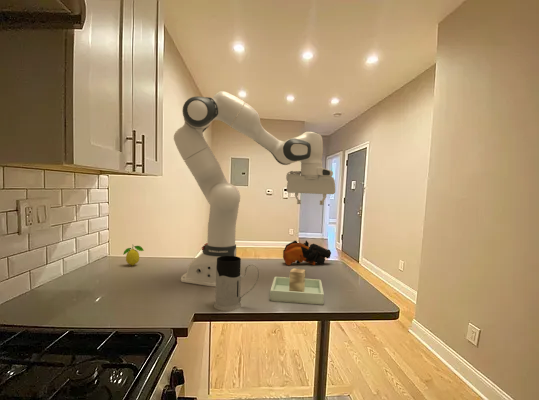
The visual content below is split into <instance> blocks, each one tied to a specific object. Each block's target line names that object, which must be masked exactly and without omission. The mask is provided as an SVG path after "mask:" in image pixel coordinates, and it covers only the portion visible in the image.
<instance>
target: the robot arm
mask: <svg viewBox="0 0 539 400" xmlns="http://www.w3.org/2000/svg"><path fill="white" fill-rule="evenodd" d="M182 116H183V120H184V124H183V125H182V126H181V127H179V128H178V129H177V130H176V131H175V133H174V135H173V141H174V143H175V146H176V149H177V150H178V153H179V155H180V157H181V158H182V160H183V162H184V163H185V165H186V166H187V168H188V170H189V171H190V173H191V175H192V176H193V178H194V179H195V181H196V184H197V185H198V187H199V188H200V190H201V192H202V194H203V196H204V197H205V199H206V201H207V203H208V204H209V217H208V221H207V242H206V243H205V244H204V245H202V247H201V251H202V253H201V254H200V255H199V256H197V257H196V258H195V259H193V260H192V261H191V262H190V263H189V264H188V267H187V270H186V271H187V272H185V273H184V274H183V275H181V276H180V281H181V283H187V284H193V285H201V286H208V287H216V265H217V258H218V257H221V256H236V257H237V244H236V232H237V231H236V230H237V229H236V228H237V221H238V213H239V207H240V205H239V204H240V202H241V195H240V191H239V190H238V188H237V187H236V186H235V185H234V184H232V183H230V182H228V180H227V179H226V177H225V175H224V172H223V170H222V167H221V164H220V162H219V161H218V159H217V158H216V156H215V155H214V153H213V151H212V149H211V148H210V146H209V144H208V142H207V141H206V139H205V136H204V134H203V133H204V132H205V131H206V129H208V128H209V127H210V125H211V124H212V123H213V122H214V121H220V122H223V123H224V124H226V125H227V126H229V127H230V128H232V129H233V130H235V131H236V132H238V133H241V135H244V136H246V137H247V138H250V140H251V139H252V140H253V141H254V142H256V143H257V144H258V145H260V146H261V147H263V148H264V149H265V150H266V151H268V152H269V153H271V155H272V156H273V158H274V159H275V160H276V162H277V163H278V164H280V165H282V166H283V165H284V166H288V165H291V164H293V163H297V162H300V170H295V171H293V170H290V171H289V172H287V173H286V178H285V179H286V181H287V184H286V192H287V193H288V194H289V193H290V194H294V198H295V199H296V204H297V205H301V201H302V200H301V199H299V197H298V196H299V194H309V195H310V194H313V195H314V194H315V195H322V197H323V198H322V199H321V200H319V205H320V206H324V202H325V200H326V198H327V195H334V194H335V193H336V180H335V179H334V177H333V175H334V172H333V171H332V170H330V169H328V168H324V167H323V159H322V158H323V154H324V153H323V152H324V143H323V137H322V135H321V134H320V133H318V132H315V131H310V130H309V131H308V130H307V131H305V132H304V133H302V134H300V135H298V136H295V137H292V138H289V139H286V140H284V141H283V140H280V139H278V138H277V137H276V136H274V135H273V134H272V133H270V132H268V131H267V130H266V129H265V128H264V127H263V125H262V122H261V119H260V118H261V117H260V114H259V113H258V111H257V110H256V109H255V108H254V107H253V106H252V105H250V104H249V103H247V102H245V101H244V100H242V98H239V97H237V96H236V95H234V94H231V93H230V92H227V91H225V90H220V91H218V92H217V93H215V94H214V95H213V96H212V97H210V96H192V97H190V98H188V99H187V100H185V102H184V104H183V106H182Z"/></svg>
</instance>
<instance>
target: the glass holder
mask: <svg viewBox="0 0 539 400" xmlns="http://www.w3.org/2000/svg"><path fill="white" fill-rule="evenodd" d="M241 264H242V259H241V257H240V256H237V255H236V256H221V257H218V258H217V265H216V286H215V295H214V296H215V301H214V303H213V308H214V309H216V310H218V311H221V312H223V311H224V312H230V311H235V310H236V311H237V310H239V309H240V308H242V302H241V300H242V298H243V297H244V296H245V295H247V294H248V293H249V292H250V291H252V290H253V289H254V288H255V286H256V285H257V283H258V281H259V277H260V269H259V266H258V265H256V264H255V263H250V264H248V265H246V267H245V269H244V275H242V273H241V269H242V268H241ZM250 266H252V267H253V266H254V267H255V268H256V269H257V278H256V281H255V283H254V285H253V286H252V287H251V288H250V289H248V290H247V291H246V292H245V293H243V294H242V295H241V281H242V280H241V279H242V278H244V277H246V276H247V270H248V268H249V267H250Z"/></svg>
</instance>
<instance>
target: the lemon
mask: <svg viewBox="0 0 539 400" xmlns="http://www.w3.org/2000/svg"><path fill="white" fill-rule="evenodd" d="M139 251H140V252H143V251H145V250H144V248H143V247H142V246H140V245H133V246H132V247H128V248H125V249H124V251H123V255H125V261H126V263H127V264H128V265H130V266H132V267H133V266H134V265H136V264H138V263H139V260H140V254H139Z"/></svg>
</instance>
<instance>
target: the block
mask: <svg viewBox="0 0 539 400" xmlns="http://www.w3.org/2000/svg"><path fill="white" fill-rule="evenodd" d="M289 278H290V282H289V291H296V292H304V289H305V279H306V269H302V268H294V267H293V268H292V269H290V271H289Z"/></svg>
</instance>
